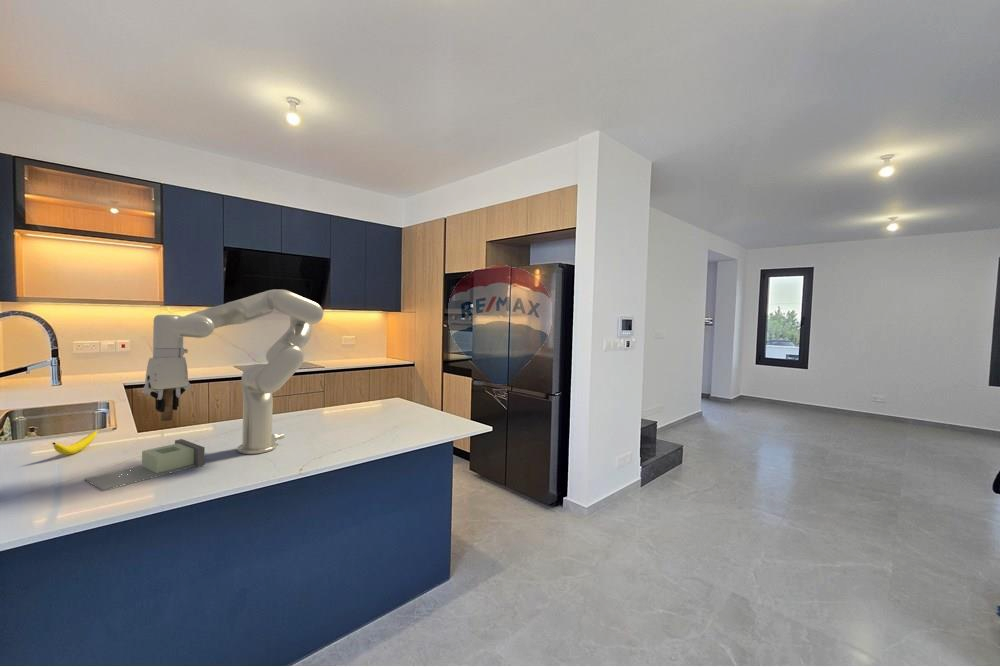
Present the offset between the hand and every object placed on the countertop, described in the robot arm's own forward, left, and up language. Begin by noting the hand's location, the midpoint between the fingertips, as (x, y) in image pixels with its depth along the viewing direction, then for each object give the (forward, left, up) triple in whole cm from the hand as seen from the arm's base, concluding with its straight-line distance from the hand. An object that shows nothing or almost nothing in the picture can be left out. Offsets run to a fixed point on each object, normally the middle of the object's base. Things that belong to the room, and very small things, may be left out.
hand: (167, 409), depth 134 cm
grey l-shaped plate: (+5, 0, -19) cm, 19 cm away
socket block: (-1, 0, -19) cm, 19 cm away
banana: (+11, -38, -19) cm, 44 cm away
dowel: (0, 0, -3) cm, 3 cm away
